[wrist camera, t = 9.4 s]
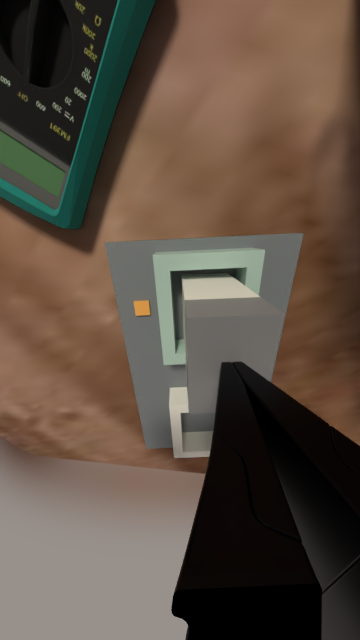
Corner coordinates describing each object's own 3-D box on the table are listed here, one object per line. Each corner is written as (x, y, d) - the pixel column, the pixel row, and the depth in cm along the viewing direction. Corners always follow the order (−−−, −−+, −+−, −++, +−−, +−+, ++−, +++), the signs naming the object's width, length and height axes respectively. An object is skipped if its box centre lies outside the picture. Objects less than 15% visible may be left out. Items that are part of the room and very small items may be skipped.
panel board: (291, 233, 14) (305, 233, 12) (252, 432, 24) (257, 445, 23) (111, 242, 14) (103, 242, 12) (148, 436, 24) (146, 450, 23)
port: (251, 247, 13) (265, 249, 11) (240, 346, 16) (249, 361, 14) (156, 252, 13) (152, 255, 11) (165, 349, 17) (163, 365, 15)
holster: (234, 384, 18) (241, 402, 16) (229, 435, 22) (234, 455, 20) (169, 387, 18) (168, 406, 16) (174, 438, 22) (174, 458, 20)
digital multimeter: (179, -47, 9) (180, -166, 6) (82, 234, 14) (60, 233, 12) (25, -214, 7) (-63, -473, 5) (-21, 174, 13) (-75, 157, 10)
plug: (227, 273, 14) (284, 314, 6) (223, 330, 16) (262, 410, 9) (181, 275, 14) (186, 318, 6) (183, 332, 16) (188, 413, 9)
